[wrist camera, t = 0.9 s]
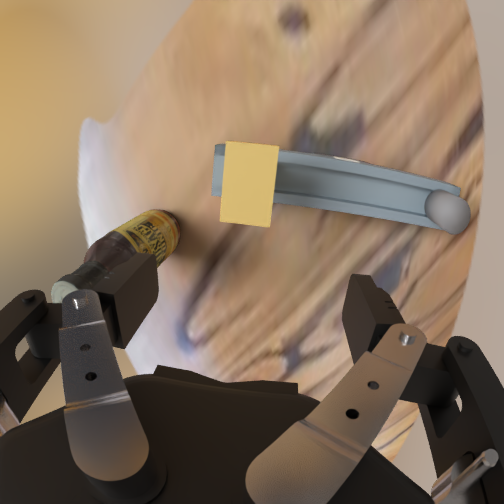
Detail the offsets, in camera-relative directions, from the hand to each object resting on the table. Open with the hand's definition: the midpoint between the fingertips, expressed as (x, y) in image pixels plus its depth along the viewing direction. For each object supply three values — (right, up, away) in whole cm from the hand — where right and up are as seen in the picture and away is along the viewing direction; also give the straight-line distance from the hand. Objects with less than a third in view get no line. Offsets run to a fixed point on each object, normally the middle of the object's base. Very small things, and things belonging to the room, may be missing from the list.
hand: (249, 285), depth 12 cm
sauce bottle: (-12, +4, +26) cm, 29 cm away
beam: (+10, +10, +22) cm, 26 cm away
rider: (0, +9, +17) cm, 20 cm away
